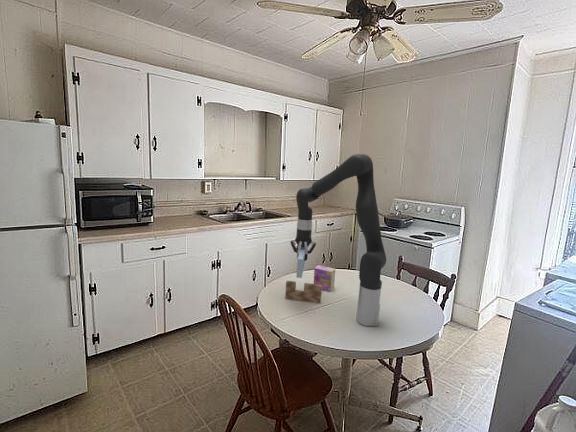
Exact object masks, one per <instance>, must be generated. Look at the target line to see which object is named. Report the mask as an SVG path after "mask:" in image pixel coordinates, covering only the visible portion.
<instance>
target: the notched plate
mask: <svg viewBox="0 0 576 432" xmlns="http://www.w3.org/2000/svg"><path fill="white" fill-rule="evenodd" d="M296 259H297V258H296ZM304 259H305V248H304V247H301V249H300V252H299V255H298V259H297V260H296V261H297V262H296V276H295V277H296V278H298V279H302V278H303V273H304V269H305V262H306V261H304Z"/></svg>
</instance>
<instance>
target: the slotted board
mask: <svg viewBox="0 0 576 432" xmlns="http://www.w3.org/2000/svg"><path fill="white" fill-rule="evenodd" d="M296 287H297V282H296V281H293V280H286V281H285V299H286V300H294V301H299V302H307V303H315V304H321V302H322V291H323V290H322V285H318V284H314V283H309V282H305V283H304V285H303V290H299V289H296ZM285 299H284V300H285Z"/></svg>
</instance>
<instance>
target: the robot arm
mask: <svg viewBox="0 0 576 432" xmlns="http://www.w3.org/2000/svg"><path fill="white" fill-rule="evenodd" d="M353 177H356V179H357V186H358V187H357V188H358V189H357V195H356V200H355V214H356V219H357V223H358V227H359V228H360V230H361V232H362V234H363V236H364V240H365V245H366V246H365V247H366V252H365V253H364V254H362V256H361V257H360V260H359V261H360V262H359V271H358V273H359V274H358V278H359V289H358V301H357V306H356V307H357V308H356V322H357V323H358V324H360V325H362V326H365V327H378V323H379V317H380V316H379V315H380V308H381V306H380V305H381V304H380V300H381V292H382V284H383V283H382V280H381V272H382V271H381V270H382V269H383V268H384V267H385V266H386V264H387V256H386V255H387V254H386V252H385V251H386V250H385V247H384V243H383V240H382V235H381V234H382V233H381V232H382V231H381V223H380V217H379V210H378V209H379V208H378V204H377V203H378V202H377V195H376V189H375V184H374V183H375V182H374V181H375V179H374V164H373V160H372V158H371V156H369V155H368V154H363V153H362V154H361V153H358V154H355V153H354V154H351V155H350V156H349V157H348V158H346V159H345V160H344V161H343V162H342V163H341V164H340V165H339V166H338V167H336V168H335V169H334V170H332V171H331V172H329V173H328V174H326V175H324V176H323V177H321V178H319V179H318V180H316V181H314V182H313V183H312V185H311V186H310V187H307V188H306V187H305V188H300V189H299V190H298V191H297V193H296V197H295V198H296V199H295V200H296V206H297V210H298V212H297V213H298V214H297V222H296V235H295V239H292V240H290V245H291V247H292V250H293V252H294V253H296V254H297V255H296V257H297V258H296V259H298V255H299V252H300V249H301V247H304V248H305V259H304V261H305V262H306V261H307V260H308V254H309V255H310V254H312V252H313V251H314V249H315V247H316V245H317V242H315V241H313V240H312V231H313V230H312V229H313V209H312V207H309V203H312V202H314V201H316V200H317V199H319V198H320V197H321V196H323V195H325V194H326V193H328V192H330V191H332V190H333V189H334V188H336V187H337V186H338V185H339V184H340V183H342V182H343V181H345V180H347V179H350V178H353ZM296 245H297V246H298V247H296ZM309 246H311V247H310V249H309Z"/></svg>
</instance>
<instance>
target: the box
mask: <svg viewBox="0 0 576 432" xmlns="http://www.w3.org/2000/svg"><path fill="white" fill-rule="evenodd" d="M313 269H314V271H313V272H314V273H313V284H318V285H322V291H326V292H330V293H332V291H333V290H334V289H335V281H336V280H335V279H336V278H335V277H336V268H334V267H333V268H332V267H327V266H324V265H319V264H317V265H316V266H315V267H314V268H313Z"/></svg>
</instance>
